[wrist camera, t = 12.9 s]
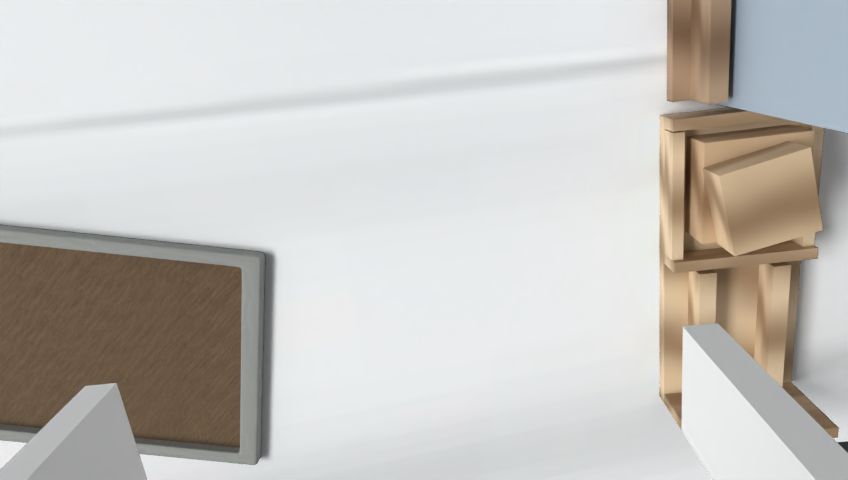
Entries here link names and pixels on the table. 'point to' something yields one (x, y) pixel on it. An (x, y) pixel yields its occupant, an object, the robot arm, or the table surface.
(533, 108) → the table surface
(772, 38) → the grey panel
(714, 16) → the walnut holder
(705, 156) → the oak offcut low
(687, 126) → the oak rack
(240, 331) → the shallow tray
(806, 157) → the oak offcut top
